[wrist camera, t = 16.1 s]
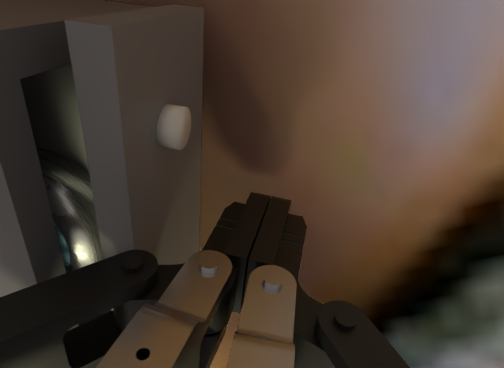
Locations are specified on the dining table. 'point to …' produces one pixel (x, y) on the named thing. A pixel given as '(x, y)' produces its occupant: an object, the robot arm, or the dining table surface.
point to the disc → (71, 209)
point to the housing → (31, 134)
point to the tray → (131, 124)
